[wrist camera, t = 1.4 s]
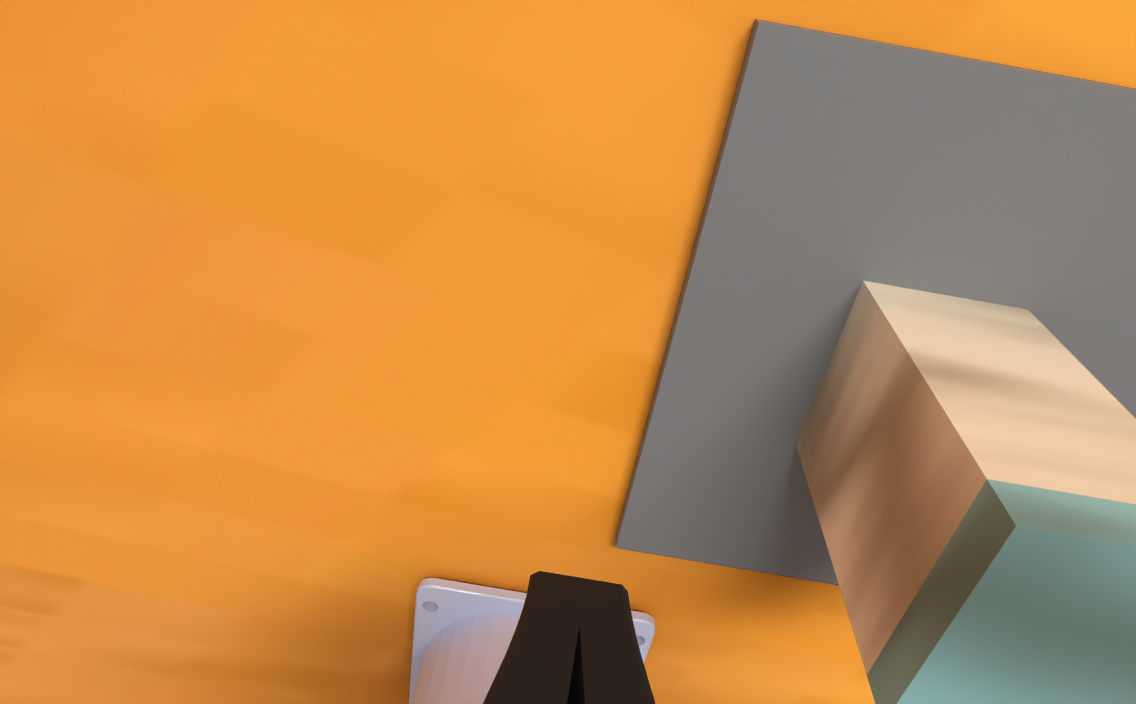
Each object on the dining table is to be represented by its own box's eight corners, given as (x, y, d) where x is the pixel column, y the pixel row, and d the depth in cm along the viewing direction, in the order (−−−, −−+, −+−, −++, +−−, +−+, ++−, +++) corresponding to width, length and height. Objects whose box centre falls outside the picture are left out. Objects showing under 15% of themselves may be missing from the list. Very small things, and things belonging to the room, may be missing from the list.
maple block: (938, 468, 20) (1099, 760, 13) (795, 443, 20) (882, 725, 13) (1027, 309, 17) (1286, 572, 10) (863, 280, 17) (1016, 526, 10)
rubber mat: (1173, 629, 23) (1183, 642, 23) (616, 536, 23) (615, 547, 22) (1596, 172, 15) (1623, 180, 15) (755, 19, 15) (758, 22, 14)
